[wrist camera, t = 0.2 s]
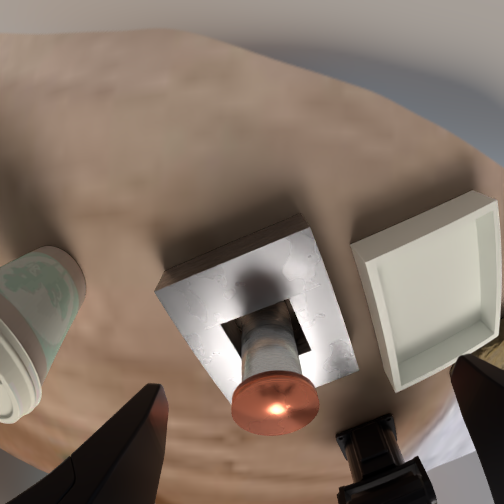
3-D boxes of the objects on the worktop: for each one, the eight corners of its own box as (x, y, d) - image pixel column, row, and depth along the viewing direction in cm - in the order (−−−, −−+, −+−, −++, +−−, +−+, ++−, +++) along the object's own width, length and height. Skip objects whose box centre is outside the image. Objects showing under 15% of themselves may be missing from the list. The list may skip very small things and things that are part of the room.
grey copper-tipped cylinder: (303, 325, 24) (328, 420, 15) (249, 345, 24) (252, 442, 16) (282, 278, 22) (304, 369, 13) (224, 300, 23) (215, 397, 14)
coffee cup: (121, 309, 23) (56, 430, 12) (51, 334, 24) (-15, 429, 13) (67, 209, 20) (-50, 286, 9) (2, 251, 21) (-91, 324, 10)
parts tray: (481, 318, 24) (498, 335, 22) (384, 370, 26) (395, 393, 23) (472, 189, 20) (497, 199, 17) (349, 244, 21) (365, 262, 18)
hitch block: (349, 346, 25) (359, 370, 22) (237, 386, 26) (237, 412, 23) (300, 213, 20) (309, 227, 18) (164, 271, 22) (154, 291, 19)
